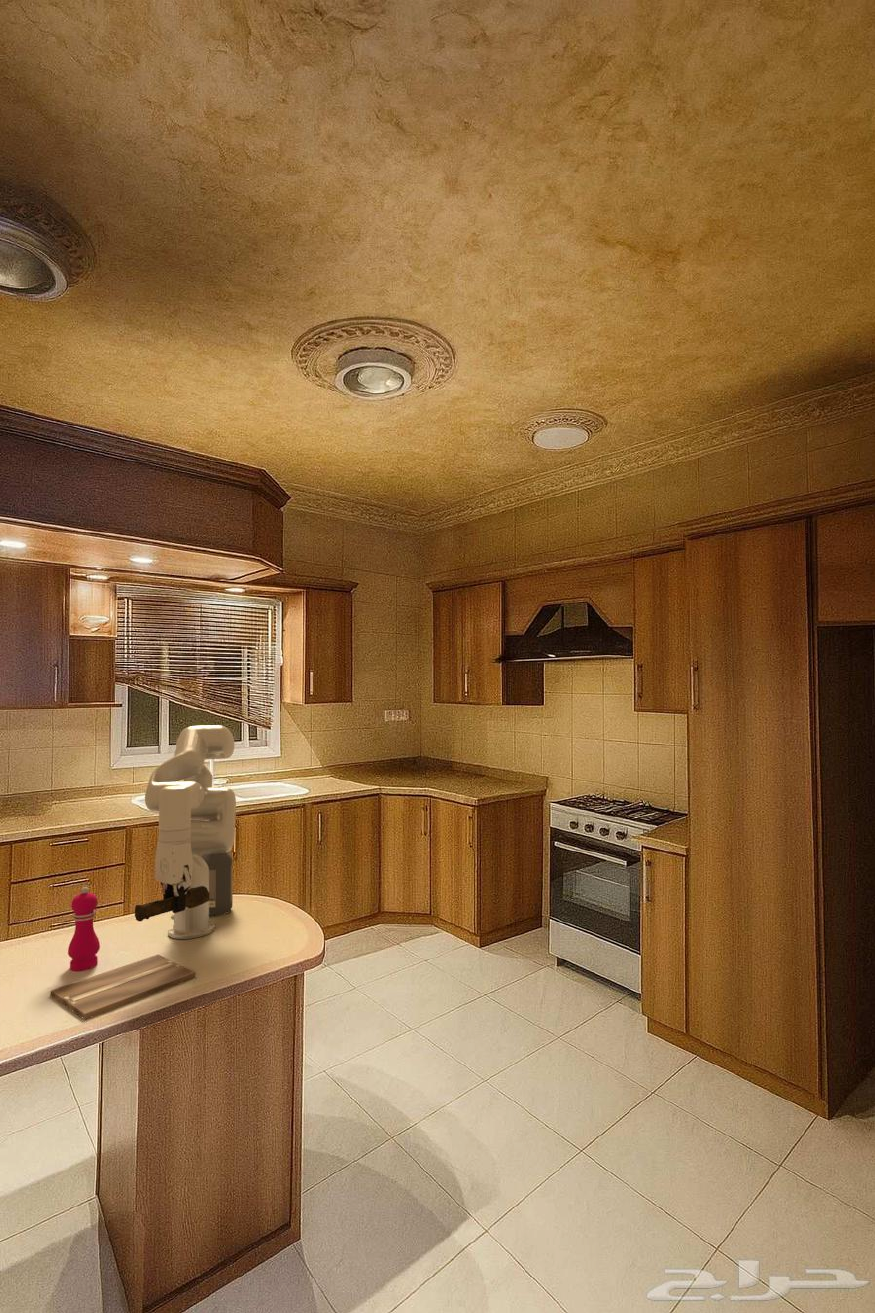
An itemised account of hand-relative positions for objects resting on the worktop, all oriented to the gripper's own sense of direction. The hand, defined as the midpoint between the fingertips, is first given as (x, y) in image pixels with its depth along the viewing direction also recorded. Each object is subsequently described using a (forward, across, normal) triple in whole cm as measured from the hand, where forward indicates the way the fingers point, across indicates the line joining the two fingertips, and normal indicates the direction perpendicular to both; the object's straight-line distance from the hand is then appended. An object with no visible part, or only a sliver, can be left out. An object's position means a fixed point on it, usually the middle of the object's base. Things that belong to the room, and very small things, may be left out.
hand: (174, 909), depth 165 cm
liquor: (+15, -31, +33) cm, 48 cm away
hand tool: (+1, 0, 0) cm, 1 cm away
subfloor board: (+16, -3, -11) cm, 19 cm away
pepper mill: (+16, -23, -11) cm, 30 cm away
